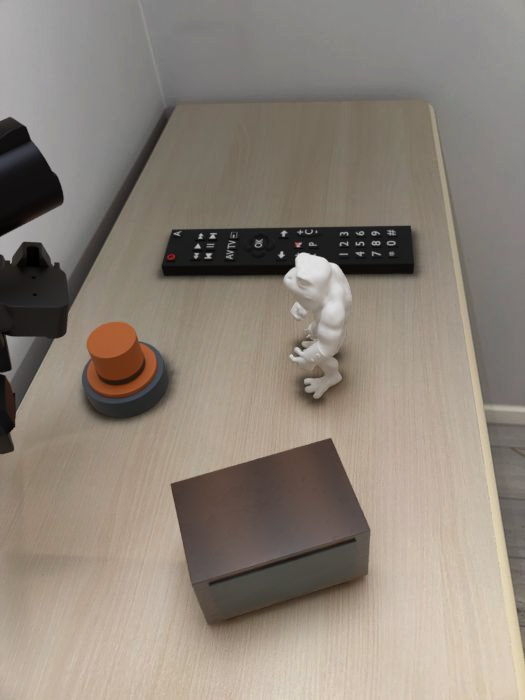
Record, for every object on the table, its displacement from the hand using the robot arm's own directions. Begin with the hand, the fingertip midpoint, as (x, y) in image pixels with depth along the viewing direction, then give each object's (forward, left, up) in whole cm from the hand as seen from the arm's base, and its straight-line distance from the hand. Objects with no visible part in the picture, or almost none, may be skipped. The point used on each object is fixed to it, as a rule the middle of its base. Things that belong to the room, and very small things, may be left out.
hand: (7, 408), depth 58 cm
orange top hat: (+9, +11, -10) cm, 17 cm away
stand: (+9, +11, -13) cm, 19 cm away
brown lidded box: (+19, -14, -13) cm, 27 cm away
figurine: (+30, +6, -13) cm, 33 cm away
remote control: (+32, +26, -13) cm, 43 cm away
